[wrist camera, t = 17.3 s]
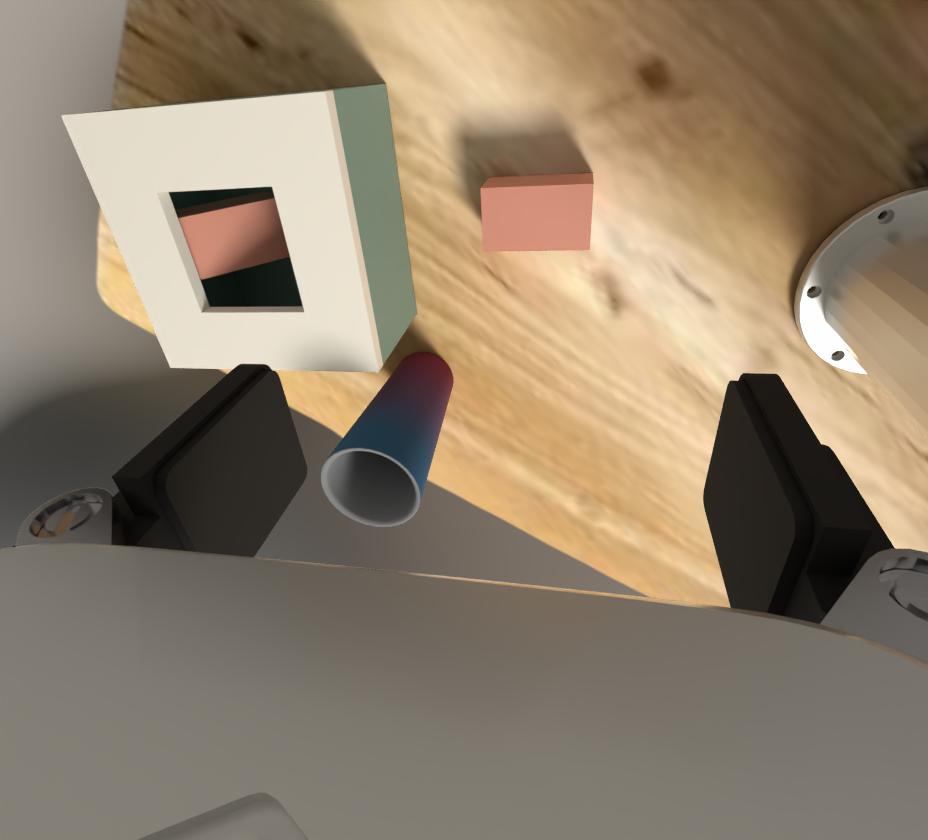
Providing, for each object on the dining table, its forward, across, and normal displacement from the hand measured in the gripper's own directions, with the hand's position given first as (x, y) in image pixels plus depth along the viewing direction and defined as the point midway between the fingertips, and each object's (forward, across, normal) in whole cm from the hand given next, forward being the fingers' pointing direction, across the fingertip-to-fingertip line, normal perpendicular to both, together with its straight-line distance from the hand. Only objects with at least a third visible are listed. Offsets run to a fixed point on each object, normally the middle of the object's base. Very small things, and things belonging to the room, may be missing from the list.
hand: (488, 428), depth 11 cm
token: (+31, +1, +2) cm, 31 cm away
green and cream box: (+30, +19, +2) cm, 36 cm away
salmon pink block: (+28, +20, +2) cm, 35 cm away
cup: (+31, +11, +16) cm, 36 cm away
